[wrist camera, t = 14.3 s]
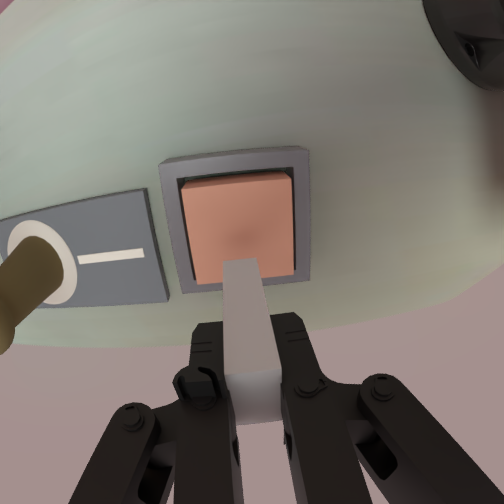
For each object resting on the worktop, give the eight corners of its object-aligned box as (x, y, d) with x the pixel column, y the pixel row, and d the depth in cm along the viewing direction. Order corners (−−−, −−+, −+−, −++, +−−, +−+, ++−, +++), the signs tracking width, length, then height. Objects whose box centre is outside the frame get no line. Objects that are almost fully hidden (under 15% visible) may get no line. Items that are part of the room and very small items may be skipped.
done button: (282, 170, 20) (291, 178, 18) (286, 256, 23) (293, 274, 21) (187, 180, 20) (181, 189, 17) (200, 264, 23) (197, 284, 20)
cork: (40, 299, 24) (-12, 372, 14) (8, 251, 21) (-57, 313, 11) (75, 279, 23) (17, 361, 13) (40, 224, 21) (-38, 288, 11)
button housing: (298, 146, 21) (308, 150, 18) (301, 262, 25) (309, 280, 23) (167, 159, 21) (158, 164, 18) (186, 274, 25) (182, 293, 22)
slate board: (146, 187, 21) (142, 191, 20) (169, 295, 26) (167, 302, 25) (-4, 221, 21) (-10, 224, 20) (27, 303, 25) (22, 308, 24)
